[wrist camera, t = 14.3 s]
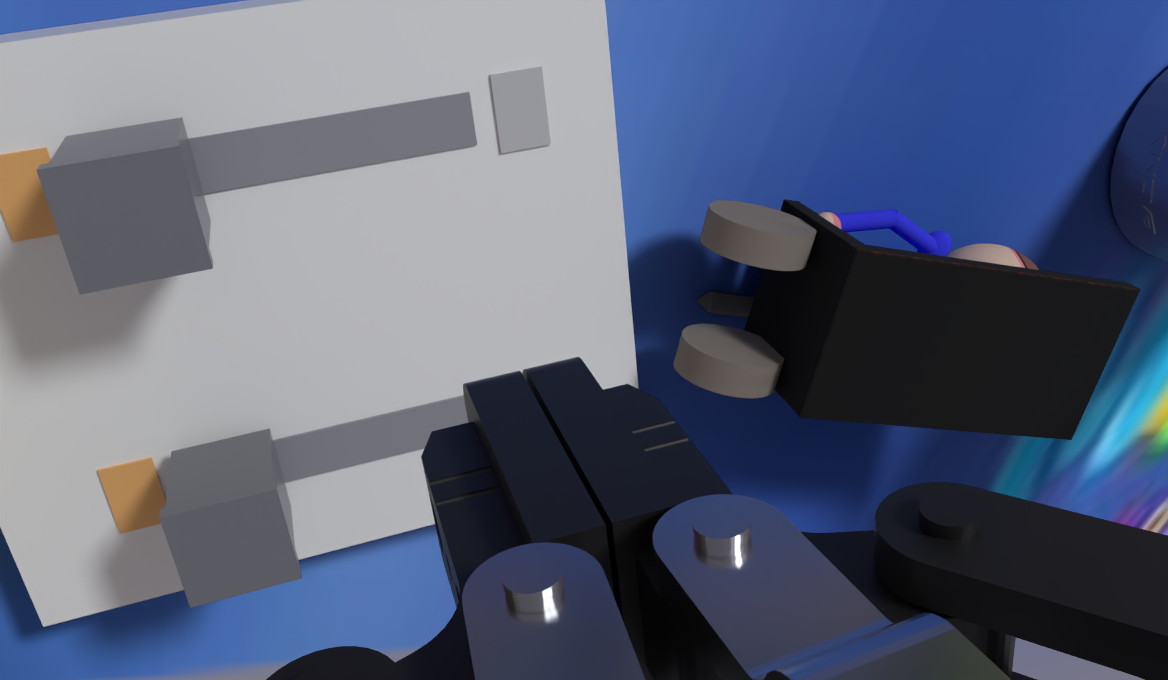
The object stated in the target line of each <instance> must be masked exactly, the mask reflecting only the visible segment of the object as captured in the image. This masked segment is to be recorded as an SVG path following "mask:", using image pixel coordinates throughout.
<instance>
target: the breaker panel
mask: <svg viewBox="0 0 1168 680" xmlns="http://www.w3.org/2000/svg"><path fill="white" fill-rule="evenodd" d="M181 117H182V118H183V122H184V125H185V129H186V132H187V136H188V140H189V143H190V147H191V151H192V154H193V158H194V161H195V165H196V169H197V172H198V176H199V180H200V183H201V187H202V191H203V194H204V198H205V201H206V205H207V209H208V212H209V216H210V220H211V225H210V241H209V248H210V252H211V255H212V259H213V269H209V270H204V271H198V272H193V273H188V274H183V275H178V276H173V277H168V278H163V279H158V280H152V281H147V282H142V283H137V284H132V285H127V286H122V287H117V288H112V289H106V290H101V291H96V292H91V293H86V294H81V295H80V294H79V291H78V288H77V286H76V283H75V280H74V277H73V274H72V271H71V268H70V265H69V262H68V260H67V257H66V254H65V251H64V248H63V245H62V242H61V239H60V236H59V234H58V231H57V228H56V225H55V222H54V219H53V216H52V213H51V211H50V208H49V205H48V202H47V199H46V196H45V193H44V190H43V187H42V185H41V182H40V179H39V176H38V173H37V168H38V167H39V165H41V164H47V163H49V162H50V160H51V159H52V157H53V156H54V154H55V153H56V151H57V149H58V148H59V146H60V145H61V143H62V141H63V140H64V138H65V137H66V136H70V135H76V134H82V133H88V132H94V131H101V130H107V129H113V128H119V127H125V126H131V125H138V124H144V123H150V122H156V121H162V120H169V119H175V118H181ZM575 357H580V358H581V359H582V360H583V362H584V363H585V365H586V366H587V367H588V369H589V370H590V372H591V373H592V375H593V376H594V378H595V379H596V380H597V382H598V383H599V385H600V386H601V388H602V389H603V390H604V389H608V388H612V387H616V386H620V385H625V384H629V385H631V386H633V387H635V388H637V389H639V388H638V376H637V365H636V353H635V342H634V330H633V319H632V307H631V296H630V284H629V273H628V261H627V250H626V238H625V227H624V215H623V204H622V192H621V181H620V169H619V158H618V146H617V135H616V123H615V111H614V100H613V88H612V77H611V65H610V54H609V42H608V31H607V19H606V8H605V0H247V1H239V2H232V3H225V4H218V5H211V6H204V7H196V8H189V9H182V10H175V11H168V12H160V13H153V14H146V15H139V16H132V17H124V18H117V19H110V20H103V21H96V22H88V23H81V24H74V25H67V26H60V27H52V28H45V29H38V30H31V31H24V32H17V33H9V34H2V35H0V528H1V530H2V532H3V535H4V537H5V539H6V542H7V544H8V546H9V549H10V551H11V553H12V555H13V558H14V560H15V562H16V565H17V567H18V569H19V572H20V574H21V576H22V579H23V581H24V583H25V586H26V588H27V590H28V593H29V595H30V597H31V599H32V602H33V604H34V606H35V609H36V611H37V613H38V616H39V618H40V620H41V623H42V625H43V627H45V626H49V625H53V624H57V623H60V622H64V621H68V620H72V619H76V618H79V617H83V616H87V615H91V614H95V613H98V612H102V611H106V610H110V609H114V608H117V607H121V606H125V605H129V604H133V603H136V602H140V601H144V600H148V599H152V598H155V597H159V596H163V595H167V594H171V593H174V592H178V591H182V590H184V588H183V585H182V582H181V579H180V576H179V574H178V571H177V568H176V565H175V562H174V559H173V556H172V553H171V550H170V548H169V545H168V542H167V539H166V536H165V533H164V530H163V527H162V524H161V522H160V519H159V517H160V508H165V507H166V498H167V488H168V479H169V469H170V460H171V451H175V450H179V449H184V448H188V447H192V446H196V445H201V444H205V443H209V442H214V441H218V440H222V439H226V438H231V437H235V436H239V435H244V434H248V433H252V432H257V431H261V430H265V429H269V428H270V431H271V435H272V438H273V442H274V446H275V449H276V453H277V457H278V460H279V464H280V467H281V471H282V475H283V478H284V482H285V486H286V489H287V493H288V497H289V500H290V504H291V511H292V521H293V532H294V543H295V549H296V553H297V556H298V560H300V559H304V558H307V557H311V556H315V555H319V554H323V553H326V552H330V551H334V550H338V549H342V548H345V547H349V546H353V545H357V544H361V543H364V542H368V541H372V540H376V539H380V538H383V537H387V536H391V535H395V534H399V533H402V532H406V531H410V530H414V529H418V528H421V527H425V526H429V525H433V524H435V521H434V516H433V511H432V507H431V502H430V497H429V492H428V488H427V483H426V478H425V473H424V468H423V464H422V459H421V456H422V454H423V451H424V449H425V446H426V444H427V441H428V439H429V437H430V434H431V432H432V431H436V430H440V429H444V428H448V427H452V426H456V425H460V424H464V423H468V417H467V412H466V406H465V401H464V394H463V384H464V383H468V382H473V381H477V380H481V379H486V378H490V377H494V376H498V375H503V374H507V373H511V372H516V371H520V372H521V373H522V372H523V370H524V369H528V368H532V367H536V366H540V365H545V364H549V363H553V362H557V361H562V360H566V359H570V358H575Z"/></svg>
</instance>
